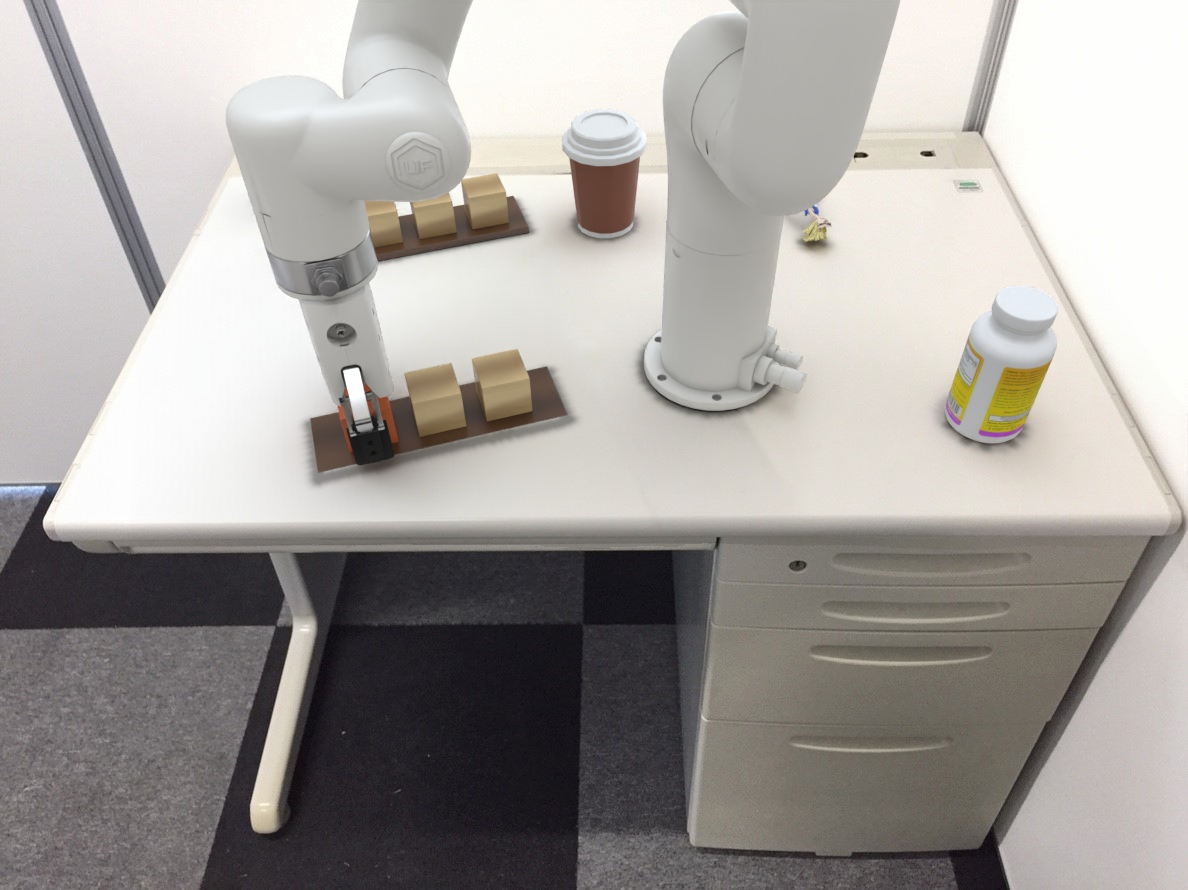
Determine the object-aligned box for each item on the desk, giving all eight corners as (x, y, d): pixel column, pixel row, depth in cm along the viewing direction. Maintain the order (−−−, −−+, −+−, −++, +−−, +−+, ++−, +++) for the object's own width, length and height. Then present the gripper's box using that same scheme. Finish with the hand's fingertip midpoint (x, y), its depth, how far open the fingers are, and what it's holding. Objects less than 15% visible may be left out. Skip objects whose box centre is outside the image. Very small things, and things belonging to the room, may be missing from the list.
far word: (529, 232, 103) (526, 194, 100) (294, 276, 98) (282, 238, 95) (514, 201, 108) (510, 164, 105) (289, 242, 103) (278, 204, 100)
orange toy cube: (398, 442, 79) (390, 408, 77) (350, 453, 79) (340, 419, 76) (391, 410, 82) (383, 377, 79) (344, 421, 81) (334, 387, 79)
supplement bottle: (1035, 419, 81) (1088, 302, 72) (997, 458, 78) (1048, 340, 69) (966, 384, 84) (1009, 267, 75) (927, 420, 81) (967, 302, 72)
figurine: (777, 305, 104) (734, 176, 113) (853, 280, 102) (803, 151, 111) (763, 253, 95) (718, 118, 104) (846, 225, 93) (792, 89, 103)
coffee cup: (639, 248, 101) (641, 147, 92) (558, 241, 102) (552, 141, 93) (650, 205, 107) (653, 106, 98) (573, 198, 108) (570, 100, 100)
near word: (568, 421, 82) (566, 380, 79) (319, 479, 78) (306, 439, 74) (547, 372, 87) (544, 332, 83) (311, 424, 82) (298, 384, 79)
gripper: (392, 313, 62) (429, 485, 75) (358, 188, 74) (395, 354, 86) (279, 336, 61) (336, 507, 73) (263, 204, 72) (315, 371, 85)
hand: (368, 423), depth 80 cm, fingers open, 8 cm apart
